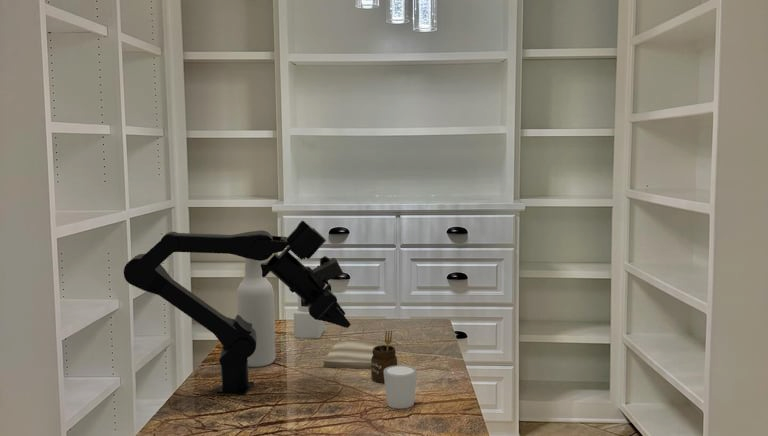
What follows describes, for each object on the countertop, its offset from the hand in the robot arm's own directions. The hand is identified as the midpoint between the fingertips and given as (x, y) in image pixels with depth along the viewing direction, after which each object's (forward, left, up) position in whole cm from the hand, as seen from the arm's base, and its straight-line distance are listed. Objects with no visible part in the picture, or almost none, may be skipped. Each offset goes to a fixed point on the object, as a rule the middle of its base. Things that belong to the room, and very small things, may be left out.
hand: (346, 320), depth 149 cm
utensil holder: (+2, -8, -14) cm, 16 cm away
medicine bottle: (+34, +17, -14) cm, 41 cm away
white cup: (-11, -13, -14) cm, 22 cm away
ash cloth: (+16, 0, -14) cm, 22 cm away
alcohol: (+10, +24, -14) cm, 30 cm away
